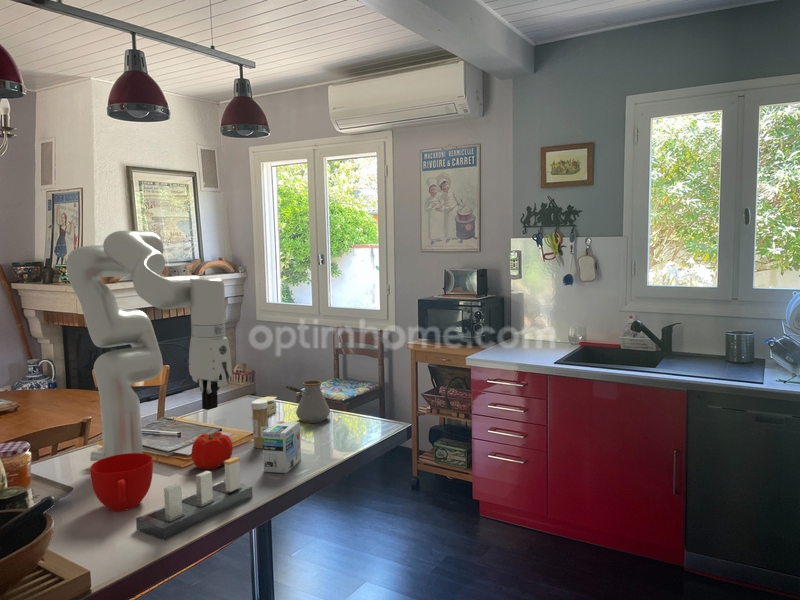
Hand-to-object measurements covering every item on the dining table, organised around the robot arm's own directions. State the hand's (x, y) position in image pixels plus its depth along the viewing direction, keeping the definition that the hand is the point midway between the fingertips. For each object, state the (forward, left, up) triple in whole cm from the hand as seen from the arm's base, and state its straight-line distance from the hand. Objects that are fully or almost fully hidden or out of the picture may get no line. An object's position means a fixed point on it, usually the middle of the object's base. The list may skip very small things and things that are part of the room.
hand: (210, 408), depth 140 cm
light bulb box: (+13, +18, -21) cm, 30 cm away
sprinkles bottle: (+3, +34, -21) cm, 40 cm away
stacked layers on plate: (-5, +69, -21) cm, 72 cm away
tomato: (-6, +18, -21) cm, 28 cm away
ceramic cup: (-18, -8, -21) cm, 28 cm away
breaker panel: (0, -11, -21) cm, 23 cm away
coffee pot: (+12, +56, -21) cm, 60 cm away
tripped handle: (+6, -5, -18) cm, 19 cm away
